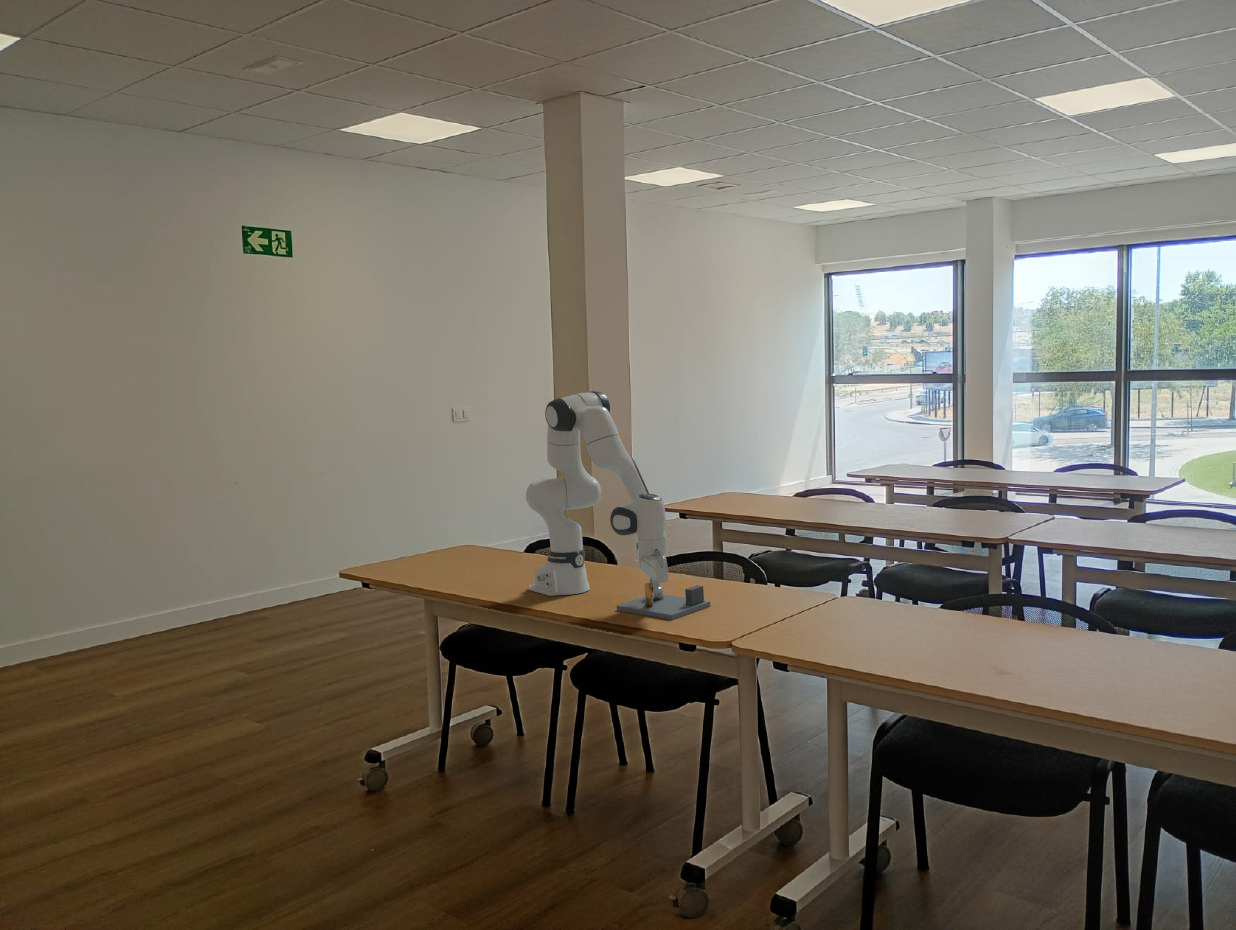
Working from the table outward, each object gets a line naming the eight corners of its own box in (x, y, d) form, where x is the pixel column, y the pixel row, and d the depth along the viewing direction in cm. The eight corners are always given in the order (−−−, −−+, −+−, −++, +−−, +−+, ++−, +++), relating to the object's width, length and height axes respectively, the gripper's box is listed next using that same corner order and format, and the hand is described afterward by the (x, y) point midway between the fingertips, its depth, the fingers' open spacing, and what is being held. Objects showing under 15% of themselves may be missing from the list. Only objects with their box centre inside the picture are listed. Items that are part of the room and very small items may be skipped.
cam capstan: (649, 596, 305) (648, 574, 305) (664, 596, 304) (663, 574, 304) (640, 606, 292) (639, 584, 291) (656, 607, 291) (655, 584, 290)
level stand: (616, 610, 296) (615, 589, 296) (655, 597, 310) (655, 577, 310) (672, 619, 282) (671, 598, 281) (710, 606, 296) (709, 585, 295)
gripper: (672, 551, 282) (674, 597, 283) (654, 540, 302) (656, 583, 303) (651, 553, 281) (653, 599, 282) (634, 542, 300) (637, 585, 302)
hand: (655, 591), depth 293 cm, fingers closed, pressing on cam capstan
